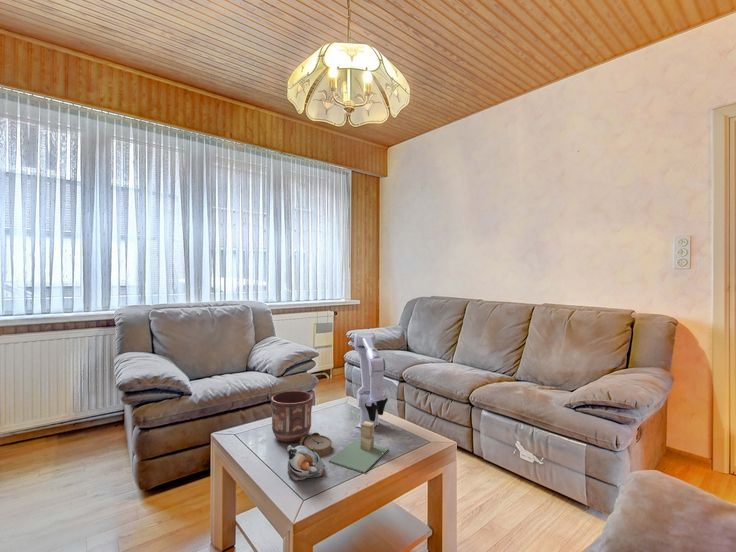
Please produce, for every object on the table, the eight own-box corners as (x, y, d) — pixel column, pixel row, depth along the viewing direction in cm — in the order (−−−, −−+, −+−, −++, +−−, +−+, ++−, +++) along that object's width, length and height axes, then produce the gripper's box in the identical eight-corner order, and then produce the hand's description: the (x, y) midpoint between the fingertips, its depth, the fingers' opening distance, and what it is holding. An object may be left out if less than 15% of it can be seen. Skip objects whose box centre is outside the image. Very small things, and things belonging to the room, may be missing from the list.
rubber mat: (355, 441, 156) (355, 439, 156) (388, 450, 148) (388, 448, 148) (328, 461, 139) (328, 460, 139) (364, 473, 131) (364, 471, 131)
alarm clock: (316, 453, 140) (293, 434, 150) (314, 464, 140) (292, 445, 150) (337, 443, 148) (315, 426, 158) (336, 454, 149) (313, 436, 159)
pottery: (289, 451, 147) (290, 406, 147) (262, 438, 157) (263, 397, 157) (320, 436, 161) (320, 395, 161) (293, 425, 171) (294, 387, 171)
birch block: (365, 444, 151) (365, 421, 151) (373, 447, 149) (373, 423, 149) (360, 448, 148) (360, 424, 148) (368, 451, 146) (369, 426, 146)
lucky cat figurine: (332, 471, 132) (330, 447, 125) (309, 498, 124) (305, 473, 117) (303, 448, 140) (300, 424, 133) (279, 472, 132) (275, 448, 125)
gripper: (377, 392, 147) (376, 425, 147) (392, 383, 160) (392, 413, 160) (362, 389, 151) (361, 422, 151) (378, 380, 163) (377, 410, 163)
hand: (376, 417), depth 156 cm, fingers open, 7 cm apart
